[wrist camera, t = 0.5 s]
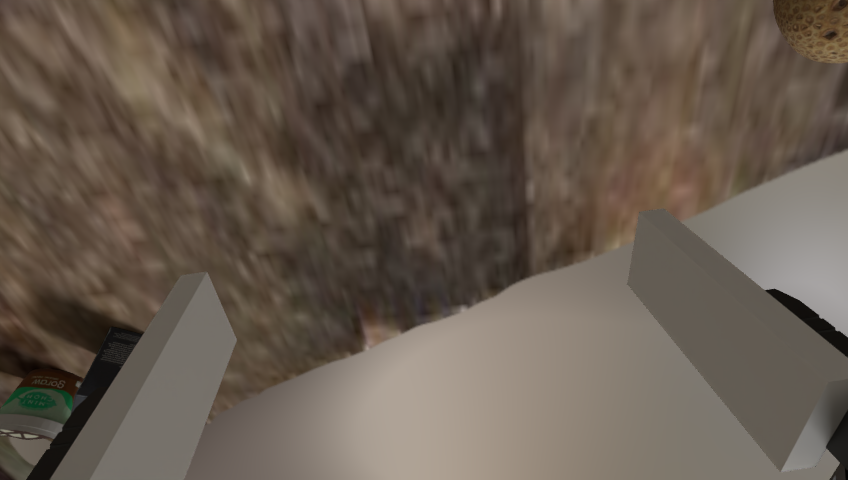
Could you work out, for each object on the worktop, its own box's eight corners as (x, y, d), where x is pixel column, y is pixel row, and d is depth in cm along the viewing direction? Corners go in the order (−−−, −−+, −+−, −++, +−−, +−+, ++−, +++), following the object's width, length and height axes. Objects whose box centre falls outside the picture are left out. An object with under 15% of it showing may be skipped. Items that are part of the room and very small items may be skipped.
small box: (146, 367, 73) (117, 432, 66) (101, 357, 71) (65, 423, 63) (159, 338, 67) (127, 406, 60) (110, 325, 64) (71, 395, 57)
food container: (87, 368, 73) (53, 430, 66) (100, 385, 77) (69, 445, 70) (3, 362, 71) (-42, 425, 64) (20, 380, 75) (-20, 441, 68)
